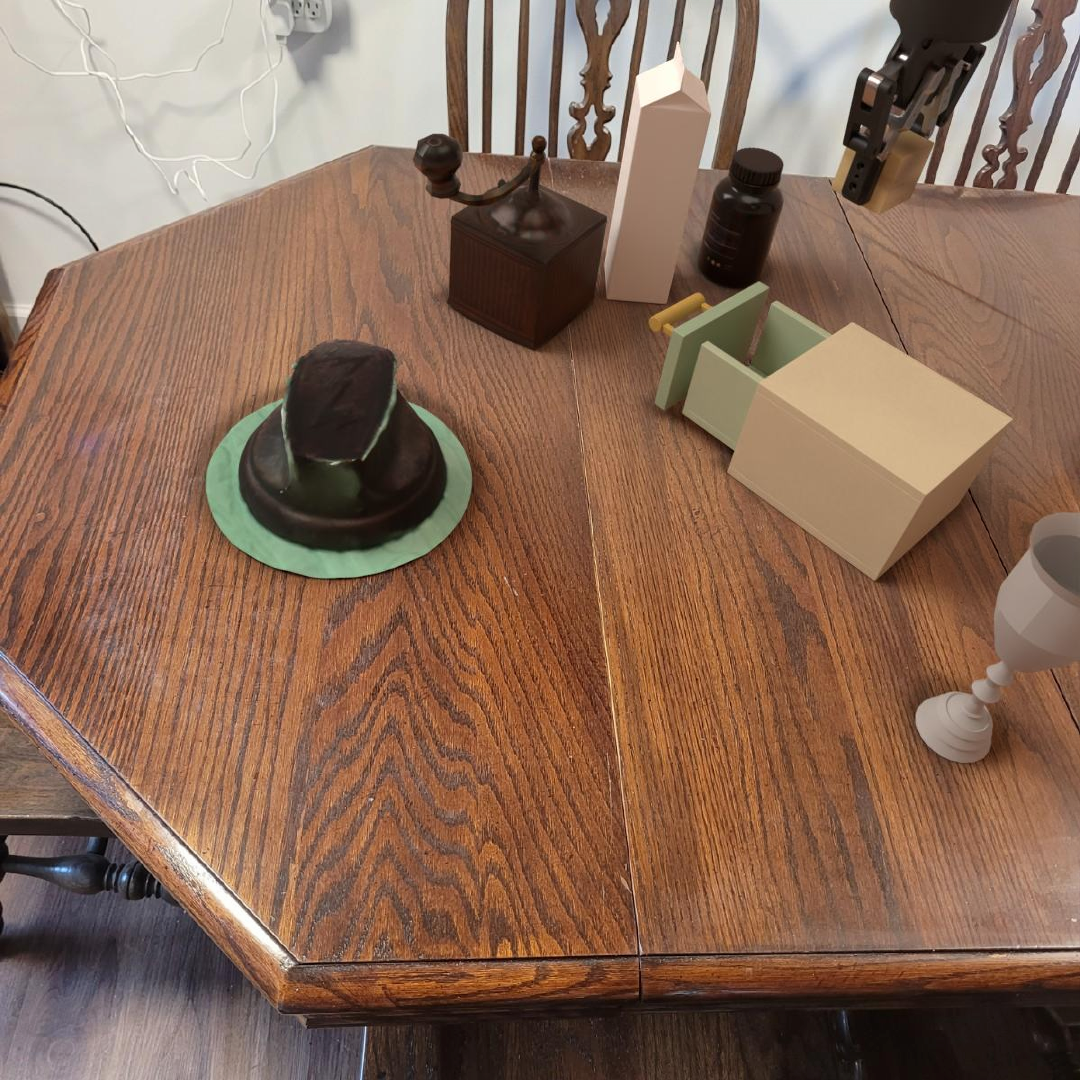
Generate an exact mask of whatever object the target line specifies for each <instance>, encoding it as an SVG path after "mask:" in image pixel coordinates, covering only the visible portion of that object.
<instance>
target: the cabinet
mask: <svg viewBox="0 0 1080 1080" xmlns="http://www.w3.org/2000/svg"><path fill="white" fill-rule="evenodd" d="M1012 422H1013V417H1011V416H1009V415H1008V414H1006V413H1004V412H1002V411H1001V410H999V409H997V408H996V407H995V406H993V405H991V404H989V403H988V402H986V401H984V400H982V399H981V398H979V397H977V396H976V395H974V394H973V393H971V392H969V391H968V390H966V389H964V388H963V387H961V386H960V385H958V384H956V383H955V382H954V381H951V380H950V379H948V378H946V377H945V376H943V375H941V374H940V373H938V372H936V371H935V370H933V369H932V368H930V367H928V366H927V365H925V364H923V363H921V362H920V361H919V360H917V359H915V358H913V357H912V356H910V355H908V354H906V353H905V352H903V351H902V350H900V349H898V348H896V347H895V346H893V345H892V344H890V343H889V342H887V341H885V340H883V339H882V338H880V337H878V336H877V335H875V334H874V333H872V332H871V331H869V330H867V329H865V328H863V327H862V326H860V325H859V324H857V323H855V322H854V321H852V322H850V323H848V324H847V325H845V326H844V327H842V328H841V329H839V330H838V331H836V332H835V333H833V334H832V336H830V337H828V338H827V339H825V340H824V341H822V342H821V343H819V344H818V345H816V346H815V347H813V348H812V349H810V350H808V351H807V352H805V353H804V354H802V355H801V356H799V357H798V358H796V359H795V360H793V361H792V362H790V363H788V364H787V365H785V366H784V367H782V368H781V369H779V370H778V371H776V372H775V373H773V374H772V375H770V376H768V377H767V378H765V379H764V380H762V381H761V382H759V384H758V387H757V389H756V392H755V395H754V398H753V401H752V403H751V406H750V409H749V412H748V415H747V418H746V420H745V423H744V426H743V429H742V432H741V434H740V437H739V440H738V443H737V446H736V449H735V451H734V450H733V451H734V452H733V454H732V457H731V460H730V463H729V466H728V468H727V474H728V475H729V476H731V477H732V478H734V479H735V480H736V481H738V482H739V483H740V484H742V485H743V486H744V487H746V488H747V489H749V490H750V491H751V492H753V493H754V494H756V495H757V496H758V497H759V498H761V499H762V500H764V501H765V502H766V503H767V504H769V505H770V506H771V507H773V508H774V509H775V510H777V511H778V512H780V513H781V514H782V515H784V516H785V517H787V518H788V519H789V520H791V522H793V523H795V524H796V525H797V526H799V527H800V528H802V529H803V530H805V531H806V532H807V533H808V534H810V535H811V536H813V537H814V538H815V539H817V540H818V541H819V542H820V543H822V544H823V545H825V547H827V548H828V549H830V550H831V551H833V553H835V554H837V555H838V556H839V557H841V558H842V559H844V560H845V561H846V562H848V563H849V564H851V566H853V567H855V568H856V569H857V570H859V572H861V573H863V574H864V575H865V576H867V577H868V578H869V579H871V580H872V581H873V582H876V581H877V580H879V578H880V577H882V575H883V574H885V573H886V572H887V571H888V570H890V568H891V567H892V566H894V565H895V564H896V563H897V562H899V560H900V559H901V558H903V556H905V554H906V553H908V552H909V551H910V550H911V549H912V548H913V547H914V546H915V545H916V544H918V542H920V541H921V540H922V539H923V538H924V537H925V536H926V535H927V534H928V533H929V532H930V531H932V530H933V529H934V528H935V527H936V526H937V525H938V524H939V523H941V521H942V520H944V519H945V518H946V517H947V516H948V515H949V514H950V513H951V512H952V511H954V510H955V508H957V507H958V506H959V505H960V503H961V501H962V499H963V498H964V496H966V493H967V492H968V490H969V489H970V488H971V486H972V484H973V482H974V481H975V480H976V478H977V476H978V475H979V473H980V471H981V470H982V469H983V467H984V465H985V464H986V462H987V461H988V459H989V457H990V456H991V455H992V453H993V451H994V449H996V447H997V446H998V443H999V442H1000V441H1001V439H1002V437H1004V434H1005V433H1006V431H1007V430H1008V429H1009V427H1010V425H1011V424H1012Z"/></svg>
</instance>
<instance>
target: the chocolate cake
mask: <svg viewBox="0 0 1080 1080" xmlns="http://www.w3.org/2000/svg"><path fill="white" fill-rule="evenodd" d="M395 356H396V355H395V354H394V353H393V351H392V350H390V349H389V348H385V347H382V346H380V345H376V344H372V343H368V342H365V341H359V340H353V339H338V338H336V339H329V340H325V341H322V342H319V343H318V344H317V345H316V346H315V347H314V348H312V349H309V350H308V352H307V353H305V355H301V356H299V358H298V359H297V360H296V361H295V363H292V364H291V367H290V368H291V371H293V372H292V375H291V376H288V377H286V378H285V383H286V388H285V392H284V394H283V397H282V398H280V399H279V400H276V401H272V402H270V403H268V404H266V405H264V406H262V407H260V408H259V409H257V410H255V411H253V412H251V413H250V414H248V415H247V416H245V417H243V418H242V419H240V421H238V422H237V423H236V424H235V425H233V427H231V428H230V430H229V432H228V433H227V434H226V435H225V436H224V437H223V438H222V440H221V441H220V443H219V444H218V445H217V447H216V449H215V450H214V451H213V454H212V456H211V458H210V460H209V463H208V465H207V469H206V475H205V476H206V477H205V492H206V493H205V494H206V499H207V503H208V507H209V509H210V512H211V514H212V517H213V519H214V521H215V523H216V525H217V526H218V528H219V530H220V531H221V533H222V534H223V535H224V536H226V538H227V540H228V541H229V542H230V543H231V544H232V545H234V546H235V547H236V548H237V549H239V550H240V551H242V552H243V553H246V554H247V555H249V556H250V557H252V558H254V559H255V560H257V561H259V562H261V563H263V564H265V565H267V566H269V567H271V568H274V569H278V570H283V571H288V572H291V573H293V574H299V575H302V576H306V577H310V578H314V579H338V578H343V579H345V578H359V577H363V576H368V575H369V576H370V575H374V574H375V575H376V574H378V573H383V572H386V571H388V570H392V569H395V568H397V567H399V566H402V565H405V564H407V563H408V562H410V561H414V560H416V559H418V558H420V557H423V556H425V555H427V554H428V553H430V552H431V551H433V549H435V548H436V547H437V546H438V545H439V544H440V543H442V542H443V541H445V539H446V538H447V537H449V535H450V534H451V533H452V532H453V530H454V529H455V528H456V527H457V526H458V524H459V523H460V522H461V520H462V518H463V516H464V514H465V512H466V510H467V509H468V505H469V502H470V499H471V494H472V487H473V474H472V468H471V463H470V460H469V457H468V455H467V453H466V450H465V448H464V446H463V445H462V443H461V442H460V440H459V439H458V437H457V436H456V435H455V434H454V433H453V431H452V429H450V428H449V427H448V426H447V425H446V424H445V422H443V421H442V419H440V418H438V417H437V416H436V415H434V414H432V413H431V412H430V411H428V410H427V409H425V408H424V407H421V406H419V405H417V404H415V403H413V402H410V401H407V399H406V398H405V397H404V396H403V395H402V393H401V391H400V390H399V389H398V382H397V378H396V375H397V373H398V371H397V368H398V361H397V359H396V357H395Z"/></svg>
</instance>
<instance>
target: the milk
mask: <svg viewBox="0 0 1080 1080" xmlns="http://www.w3.org/2000/svg"><path fill="white" fill-rule="evenodd" d="M711 119H712V111H711V107H710V103H709V99H708V94H707V90H706V87H705V82H703V80H702V79H700V77H698V76H696V75H695V74H694V73H693V72H691V71H690V69H688V68H687V67H686V66H685V64H684V59H683V54H682V49H681V45H680V42H679V41H677V42H676V46H675V51H674V54H673V58H671V59H670V60H668V61H665V62H663V63H661V64H659V65H656V66H654V67H652V68H650V69H648V70H646V71H643V72H641V73H639V74H637V75H636V76H635V82H634V87H633V93H632V98H631V105H630V112H629V118H628V122H627V128H626V135H625V141H624V145H623V152H622V159H621V163H620V171H619V175H618V182H617V188H616V193H615V199H614V205H613V210H612V216H611V222H610V228H609V235H608V240H607V247H606V252H605V258H604V263H603V266H604V281H605V296H606V299H607V300H612V301H623V302H636V303H647V304H648V303H649V304H656V305H657V304H660V305H667V303H668V300H669V295H670V290H671V286H672V282H673V278H674V274H675V269H676V265H677V261H678V257H679V253H680V248H681V245H682V241H683V236H684V233H685V232H684V231H685V227H686V224H687V223H686V222H687V219H688V216H689V211H690V207H691V203H692V198H693V195H694V190H695V185H696V181H697V177H698V174H699V169H700V165H701V161H702V157H703V151H704V147H705V143H706V140H707V136H708V131H709V127H710V122H711Z"/></svg>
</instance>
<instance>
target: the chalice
mask: <svg viewBox="0 0 1080 1080" xmlns="http://www.w3.org/2000/svg"><path fill="white" fill-rule="evenodd" d="M993 613H994V614H993V635H994V636H993V640H994V641H993V642H994V651H995V653H996V655H997V657H998V658H999V659H1000V660H1001V661H999V662H997V663H995V664H993V663H992V664H990V665H988V666H987V668H986V678H985V679H982V678H981V679H976V680H973V682H972V683H971V690H972V693H968V692H967V693H966V692H962V691H949V692H945V693H942V694H939V695H937V696H932V697H930V698H927V699H924V700H923V701H922V703H920V704H919V705H918V707H917V710H916V712H915V726H916V729H917V730H918V733H919V736H920V738H921V739H922V740H923V741H924V742H925V744H926V745H927V747H929V748H930V749H931V750H932V751H934V752H935V753H936V754H937V755H939V756H941V757H943V758H945V759H947V760H948V761H952V762H955V763H960V764H974V763H976V762H978V761H979V762H980V761H981V760H983V759H984V758H985V757H986V756H987V755H988V753H990V750H991V749H990V748H991V746H992V735H993V729H994V723H993V718H992V715H991V713H990V711H989V709H988V707H987V706H986V705H987V704H996V703H998V702H999V701H1000V700H1001V697H1002V696H1001V691H1000V689H1001V688H1003V687H1010V686H1011V685H1012V684H1014V681H1015V680H1014V674H1015V672H1016V671H1017V672H1019V673H1024V674H1034V673H1039V672H1044V671H1049V670H1054V669H1058V668H1063V667H1066V666H1069V665H1071V664H1075V663H1077V662H1080V512H1065V511H1064V512H1063V511H1061V512H1060V511H1059V512H1055V513H1052V514H1048V515H1044V516H1043V517H1042V518H1041V519H1039V520H1038V521H1037V522H1036V523H1034V524H1033V526H1032V529H1031V533H1030V536H1029V548H1028V549H1027V551H1026V552H1025V553H1024V554H1023V556H1022V557H1021V559H1020V560H1019V561H1018V562H1017V564H1016V565H1015V566H1014V567H1013V569H1012V570H1011V571H1010V573H1009V574H1008V575H1007V577H1006V578H1005V579H1004V580H1003V582H1002V583H1001V585H1000V587H999V590H998V594H997V596H996V603H995V608H994V612H993Z"/></svg>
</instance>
